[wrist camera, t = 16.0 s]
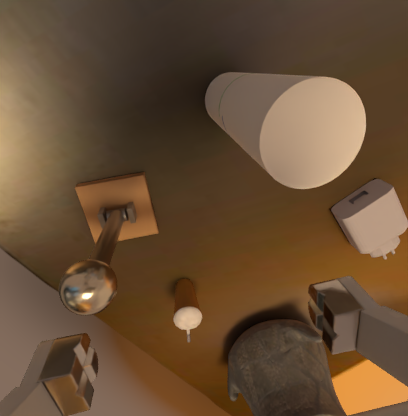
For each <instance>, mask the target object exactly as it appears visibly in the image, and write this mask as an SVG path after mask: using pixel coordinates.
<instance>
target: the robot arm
mask: <svg viewBox="0 0 408 416" xmlns="http://www.w3.org/2000/svg"><path fill="white" fill-rule="evenodd" d="M308 293H309V295H310V296H311V299H310V301H309V302H308V309H309V313H310V317H311V319H312V322H313V324H314V325H315V327H316V328H317V329H318V330H320V331H322V332H323V333H322V339H323V340H324V342H325V344H326V345H327V347H328V348H329V350H330V352H331V353H332V354H337V353H342V352H347V351H352V350H356V351H357V352H358V353H360V354H361V355H363V356H364V357H366V358H367V359H368V360H370V361H371V362H373V363H374V364H376V365H377V366H379V367H380V368H381V369H383V370H385V371H386V372H387V373H389V374H390V375H392V376H393V377H394V378H396V379H397V380H399V381H400V382H402V383H404V384H405V385H406V386H408V316H406V315H404V314H401V313H399V312H397V311H394V310H392V309H390V308H388V307H385V306H381V307H380V306H379V305H378V304H377V303H376V302H375V301H374V300H373V299H372V298H371V297H370V296H369V295H368V294H367V293H366V291H365V290H364V289H363V288H362V287H361V286H360V285H359V284H358V283H357V282H356V281H355V280H354V279H353V278H352V277H350V276H347V277H342V278H338V279H333V280H329V281H324V282H320V283H316V284H311V285H310V286H309V290H308ZM89 344H90V338H89V336H88V334H86V333H83V334H77V335H72V336H67V337H62V338H57V339H53V340H48V341H42V342H41V343H40V344H39V345H38V347H37V349H36V351H35V353H34V355H33V358H32V360H31V362H30V364H29V367H28V369H27V371H26V373H25V376H24V379H23V380H22V383H21V385H20V387H16V388H14V389H13V390H12V391H11V392H10V393H9V394H8V395H7V396H6V397H5V398H4V399H3V400H2V401H1V402H0V416H68V415H72V414H76V413H79V412H84V411H87V410H90V407H91V401H92V397H93V392H94V389H93V387H92V385H91V384H92V382H93V381H94V380H95V378H96V377H97V372H98V358H97V353H96V351H95V349H94V348H92V347H90V346H89ZM348 416H408V401H406V402H402V403H398V404H394V405H390V406H385V407H381V408H377V409H373V410H369V411H365V412H361V413H357V414H353V415H348Z"/></svg>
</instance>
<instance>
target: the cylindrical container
mask: <svg viewBox="0 0 408 416" xmlns="http://www.w3.org/2000/svg"><path fill="white" fill-rule="evenodd" d="M205 106H206V110H207V112H208V114H209V116H210V117H211V118H212V119H213V120H214V121H215V122H216V123H217V124H218V125H219V126H220V127H221V128H222V129H223V130H224V131H225V132H226V133H227V134H228V135H229V136H230V137H231V138H232V139H233V140H235V141H236V142H237V143H238V144H239V145H240V146H241V147H242V148H243V149H244V150H245V151H246V152H247V153H248V154H249V155H250V156H251V157H252V158H253V159H254V160H255V161H256V162H257V163H258V164H259V165H260V166H261V167H262V168H264V169H265V170H266V171H267V172H268V173H269V174H270V175H271V176H272V177H273V178H274V179H275V180H276V181H278V182H280V183H281V184H283V185H285V186H288V187H291V188H296V189H309V188H315V187H318V186H321V185H324V184H326V183H328V182H330V181H332V180H333V179H335V178H336V177H338V176H339V175H340V174H341V173H342V172H343V171H344V170H346V169H347V168H348V166H349V165H350V164H351V163H352V161H353V160H354V159H355V157H356V155H357V153H358V151H359V150H360V147H361V145H362V142H363V139H364V134H365V129H366V116H365V110H364V106H363V104H362V101H361V99H360V97H359V96H358V95H357V93H356V92H355V90H354V89H352V88H351V87H350V86H349V85H348V84H346V83H345V82H342V81H340V80H338V79H335V78H329V77H319V76H299V75H279V74H259V73H239V72H227V73H223V74H221V75H219V76H217V77H216V78H215V79H214V80H213V81H212V82H211V83H210V85H209V86H208V88H207V91H206V95H205Z"/></svg>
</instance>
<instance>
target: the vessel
mask: <svg viewBox="0 0 408 416" xmlns="http://www.w3.org/2000/svg"><path fill="white" fill-rule="evenodd" d="M239 392H240V393H242V394H243V396H244V398H245V400H246V402H247V403H248V405H249V407H250V409H251V411H252V413H253V414H254V416H347V415H346V413H345V412H344V410H343V408H342V407H341V405H340V402H339V400H338V397H337V395H336V393H335V390H334V387H333V383H332V379H331V375H330V371H329V366H328V361H327V357H326V353H325V349H324V346H323V343H322V338H321V336H320V335H319V334H318V333H317V332H316V331H314V330H313V329H312V328H311V327H310V326H309V325H308V324H306V323H304V322H301V321H298V320H292V319H278V320H277V319H276V320H269V321H265V322H261V323H258V324H256V325H254V326H252V327H250V328H249V329H248V330H246V331H245V332H244V333H243V334H241V335H240V337H239V338H238V339H237V340H236V341H235V343H234V344H233V346H232V348H231V350H230V352H229V356H228V394H229V397H230V399H231V400H232V401H235V400H236V399H237V396H238V393H239Z"/></svg>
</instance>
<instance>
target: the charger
mask: <svg viewBox="0 0 408 416" xmlns="http://www.w3.org/2000/svg"><path fill="white" fill-rule="evenodd" d="M331 211H332V213H333V214H334V216H335V218H336V220H337V221H338V223H339V225H340V227H341V228H342V230H343V232H344V234H345V235H346V237H347V239H348V240H349V242H350V244H351V245H352V246H353V247H355V248H356V249H357V250H358V251H359V252H360V253H370V255H371V257H379V256H383V258H384V259H387V257H386V255H385V254H387V253H389V252H390V251H391V252H392V254H395V251H394V249H395V248H396V247H397V246H398V244H399V242H400V239H399V237H398V236H399V235H401V234H402V233H404V232H405V230H406V229H407V227H408V220H407V218H406V216H405V213H404V211H403V209H402V206H401V204H400V202H399V199H398V197H397V195H396V192H395V190H394V188H393V186H392V185H390V184H388V183H386V182H384V181H382V180H380V179H375V180H372V181H370V182H368V183H367V184H365V185H364V186H362V187H361V188H359V189H358V190H356V191H355V192H353V193H352V194H350V195H349V196H347V197H346V198H344V199H343V200H341V201H340V202H338V203H337V204H335V205H334V206H333V207H332V209H331Z"/></svg>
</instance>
